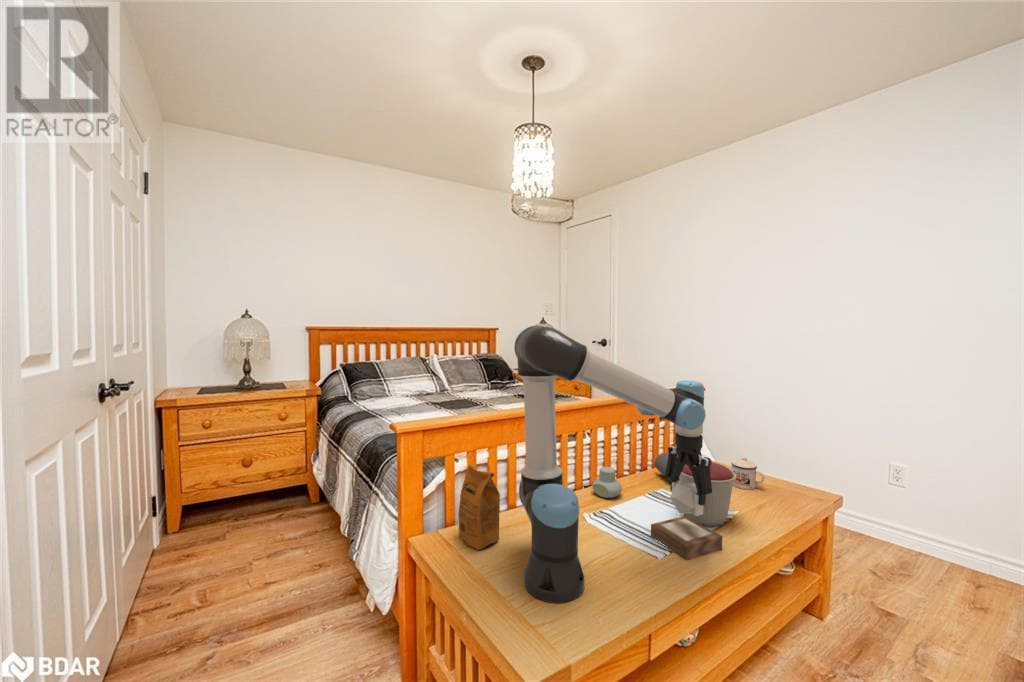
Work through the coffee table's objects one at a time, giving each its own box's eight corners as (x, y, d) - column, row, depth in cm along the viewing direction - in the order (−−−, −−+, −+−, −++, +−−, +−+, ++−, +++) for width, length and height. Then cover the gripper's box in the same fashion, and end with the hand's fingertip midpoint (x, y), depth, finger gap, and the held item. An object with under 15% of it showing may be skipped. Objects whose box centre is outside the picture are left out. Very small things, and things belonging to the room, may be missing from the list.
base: (686, 560, 119) (687, 545, 119) (650, 536, 131) (651, 523, 131) (721, 549, 125) (722, 535, 124) (684, 527, 137) (684, 514, 137)
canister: (732, 513, 148) (735, 453, 147) (735, 537, 132) (738, 470, 131) (677, 503, 156) (678, 446, 155) (673, 524, 139) (675, 461, 138)
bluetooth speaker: (652, 475, 184) (653, 452, 183) (672, 473, 186) (673, 451, 185) (683, 496, 162) (684, 470, 161) (705, 495, 163) (706, 469, 163)
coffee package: (480, 526, 137) (480, 458, 136) (503, 542, 127) (504, 470, 126) (453, 536, 131) (453, 465, 130) (476, 553, 121) (476, 477, 120)
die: (698, 523, 121) (714, 492, 124) (669, 505, 123) (685, 474, 126) (688, 521, 130) (703, 491, 132) (661, 503, 132) (676, 475, 134)
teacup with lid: (727, 485, 173) (728, 457, 172) (735, 479, 179) (736, 452, 179) (760, 494, 164) (761, 464, 164) (767, 488, 171) (768, 459, 170)
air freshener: (588, 493, 164) (589, 467, 163) (601, 487, 169) (601, 463, 169) (612, 502, 156) (613, 475, 155) (625, 496, 161) (626, 470, 161)
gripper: (728, 441, 118) (726, 521, 120) (671, 424, 137) (669, 493, 139) (709, 444, 115) (706, 526, 116) (653, 426, 134) (652, 497, 135)
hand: (686, 508), depth 127 cm, fingers closed on die, 8 cm apart
